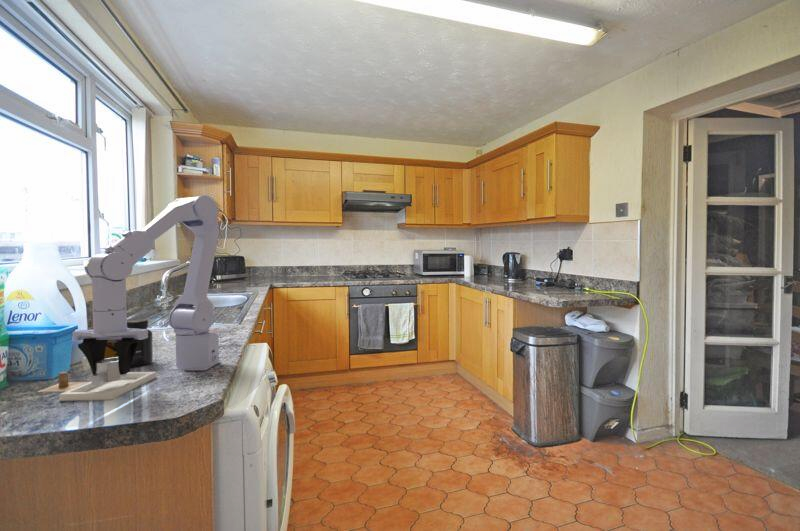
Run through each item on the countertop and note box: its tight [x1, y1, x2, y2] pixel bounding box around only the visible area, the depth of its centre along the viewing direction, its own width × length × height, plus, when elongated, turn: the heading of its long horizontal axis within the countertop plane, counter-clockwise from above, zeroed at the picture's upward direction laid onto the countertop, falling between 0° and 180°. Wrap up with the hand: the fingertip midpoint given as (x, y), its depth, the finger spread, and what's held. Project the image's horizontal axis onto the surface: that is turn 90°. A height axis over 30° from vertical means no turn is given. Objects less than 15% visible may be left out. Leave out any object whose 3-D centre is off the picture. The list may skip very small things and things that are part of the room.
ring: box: [90, 357, 127, 386], centre depth 80 cm, size 5×7×4 cm
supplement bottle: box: [121, 319, 154, 369], centre depth 99 cm, size 7×7×12 cm
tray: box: [58, 371, 157, 402], centre depth 81 cm, size 10×14×2 cm
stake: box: [36, 371, 89, 393], centre depth 82 cm, size 6×6×4 cm
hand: (111, 373), depth 81 cm, fingers closed on ring, 5 cm apart
